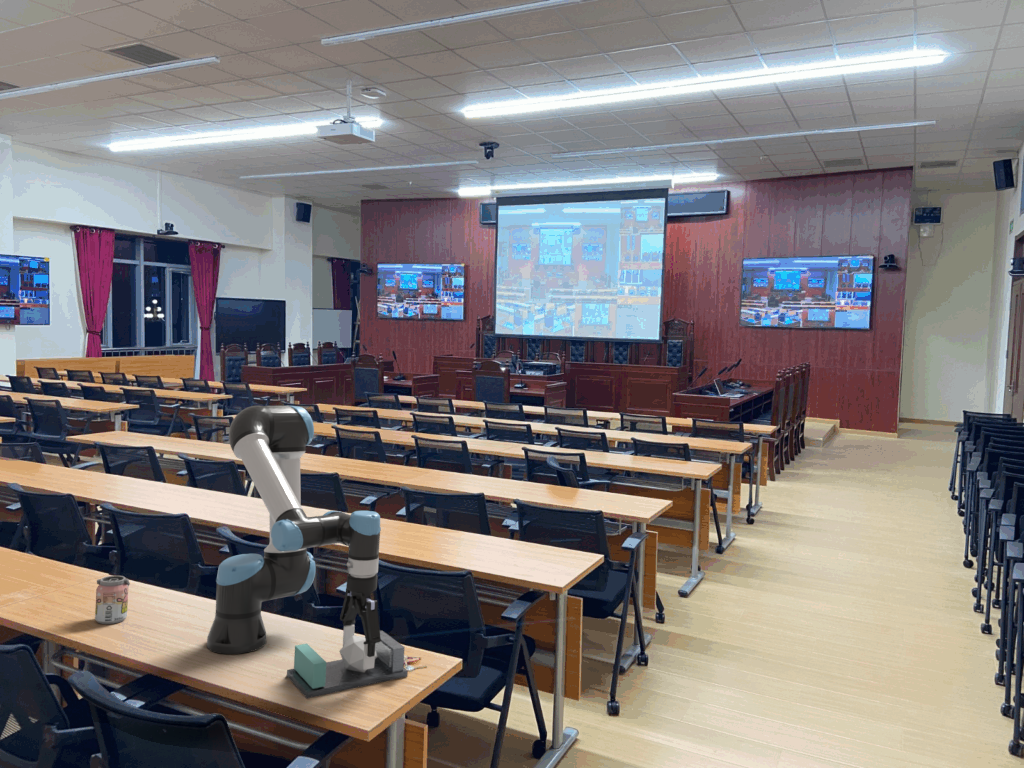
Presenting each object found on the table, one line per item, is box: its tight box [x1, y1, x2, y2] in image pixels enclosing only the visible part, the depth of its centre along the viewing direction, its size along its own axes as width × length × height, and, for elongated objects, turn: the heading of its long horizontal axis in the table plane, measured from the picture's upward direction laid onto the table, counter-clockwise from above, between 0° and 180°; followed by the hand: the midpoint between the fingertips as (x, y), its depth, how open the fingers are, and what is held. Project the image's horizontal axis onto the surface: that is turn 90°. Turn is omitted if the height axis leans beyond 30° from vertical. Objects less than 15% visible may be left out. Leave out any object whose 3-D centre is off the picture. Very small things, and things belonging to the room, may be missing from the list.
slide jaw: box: [293, 643, 327, 689], centre depth 178 cm, size 13×3×6 cm, turn 35°
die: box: [339, 634, 377, 672], centre depth 185 cm, size 8×9×10 cm
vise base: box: [286, 630, 409, 699], centre depth 184 cm, size 14×26×8 cm, turn 125°
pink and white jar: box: [94, 575, 131, 625], centre depth 213 cm, size 9×8×12 cm
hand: (357, 659), depth 186 cm, fingers open, 12 cm apart
